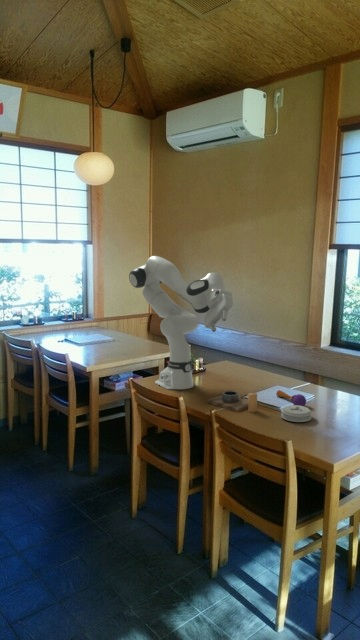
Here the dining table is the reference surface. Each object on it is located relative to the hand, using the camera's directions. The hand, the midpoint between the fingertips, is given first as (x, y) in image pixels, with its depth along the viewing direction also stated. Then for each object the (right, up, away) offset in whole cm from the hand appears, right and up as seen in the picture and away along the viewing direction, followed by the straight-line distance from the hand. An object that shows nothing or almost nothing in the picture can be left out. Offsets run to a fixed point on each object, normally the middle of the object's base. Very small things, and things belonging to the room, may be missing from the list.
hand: (219, 325), depth 208 cm
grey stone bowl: (+6, -36, +12) cm, 38 cm away
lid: (+33, -40, -8) cm, 53 cm away
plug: (+15, -39, +1) cm, 42 cm away
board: (+7, -37, +12) cm, 40 cm away
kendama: (+35, -37, +13) cm, 53 cm away
